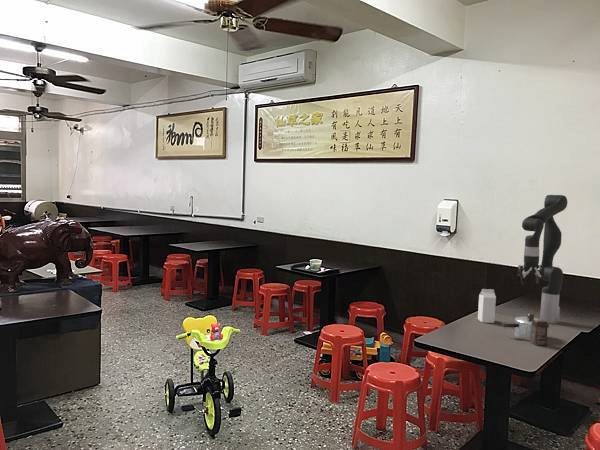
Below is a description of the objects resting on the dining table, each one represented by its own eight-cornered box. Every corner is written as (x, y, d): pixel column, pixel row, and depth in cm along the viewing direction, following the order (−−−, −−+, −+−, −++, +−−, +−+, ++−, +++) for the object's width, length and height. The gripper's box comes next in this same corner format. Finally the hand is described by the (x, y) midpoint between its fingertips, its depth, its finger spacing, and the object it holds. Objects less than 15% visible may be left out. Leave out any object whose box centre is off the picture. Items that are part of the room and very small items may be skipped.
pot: (538, 332, 252) (539, 318, 251) (554, 341, 238) (556, 326, 237) (495, 332, 249) (496, 318, 249) (509, 341, 235) (510, 325, 235)
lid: (534, 318, 252) (535, 310, 251) (553, 326, 237) (553, 317, 236) (509, 317, 250) (509, 310, 249) (525, 326, 235) (526, 317, 235)
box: (541, 342, 234) (543, 319, 233) (546, 345, 230) (548, 322, 229) (530, 342, 234) (531, 319, 233) (535, 345, 229) (537, 321, 228)
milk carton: (494, 323, 268) (496, 290, 267) (481, 322, 268) (484, 290, 267) (489, 319, 275) (491, 288, 274) (477, 319, 275) (479, 287, 274)
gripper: (539, 253, 258) (538, 282, 260) (515, 253, 257) (514, 282, 258) (548, 255, 251) (546, 284, 252) (523, 256, 249) (522, 285, 251)
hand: (530, 283), depth 255 cm, fingers open, 8 cm apart
